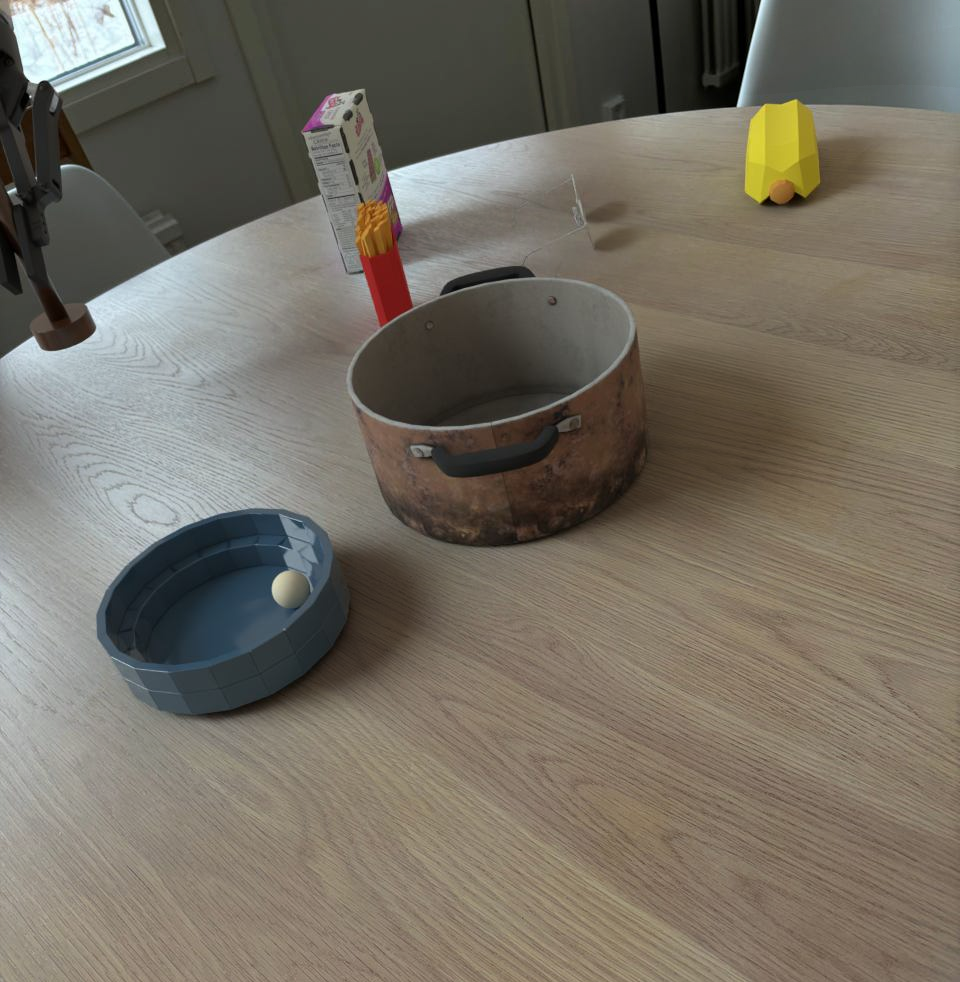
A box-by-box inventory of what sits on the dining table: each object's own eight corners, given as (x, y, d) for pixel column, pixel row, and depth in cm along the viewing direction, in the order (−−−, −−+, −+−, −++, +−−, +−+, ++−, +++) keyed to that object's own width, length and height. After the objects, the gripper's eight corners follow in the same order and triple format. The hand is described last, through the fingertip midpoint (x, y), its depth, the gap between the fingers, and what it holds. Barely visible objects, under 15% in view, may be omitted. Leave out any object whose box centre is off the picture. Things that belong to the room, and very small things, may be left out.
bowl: (132, 756, 71) (99, 706, 67) (121, 605, 84) (93, 557, 80) (375, 666, 72) (355, 613, 69) (328, 531, 85) (308, 481, 82)
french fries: (378, 309, 113) (346, 199, 105) (413, 300, 113) (384, 189, 105) (382, 345, 107) (349, 230, 99) (420, 335, 107) (389, 220, 99)
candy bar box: (365, 235, 130) (325, 94, 119) (404, 229, 128) (367, 86, 117) (343, 276, 122) (298, 129, 111) (384, 271, 120) (342, 121, 109)
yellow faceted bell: (744, 218, 111) (820, 208, 109) (742, 153, 107) (821, 142, 105) (747, 153, 124) (815, 144, 122) (745, 93, 119) (816, 82, 117)
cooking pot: (676, 553, 74) (663, 424, 67) (372, 604, 77) (328, 485, 70) (627, 350, 96) (613, 236, 89) (392, 395, 99) (360, 289, 92)
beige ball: (282, 621, 77) (269, 592, 75) (276, 599, 79) (263, 570, 77) (318, 608, 77) (306, 579, 75) (311, 586, 79) (299, 557, 77)
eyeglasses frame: (598, 258, 111) (584, 213, 108) (523, 286, 113) (508, 244, 110) (583, 209, 122) (570, 167, 118) (515, 235, 123) (500, 195, 120)
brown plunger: (39, 357, 98) (-66, 160, 86) (40, 334, 102) (-61, 142, 90) (97, 338, 98) (1, 139, 86) (95, 316, 102) (3, 123, 90)
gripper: (68, 38, 97) (122, 281, 96) (-84, 78, 98) (-33, 320, 97) (30, -16, 90) (87, 247, 88) (-135, 28, 90) (-80, 289, 89)
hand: (25, 284), depth 92 cm, fingers closed on brown plunger, 2 cm apart
